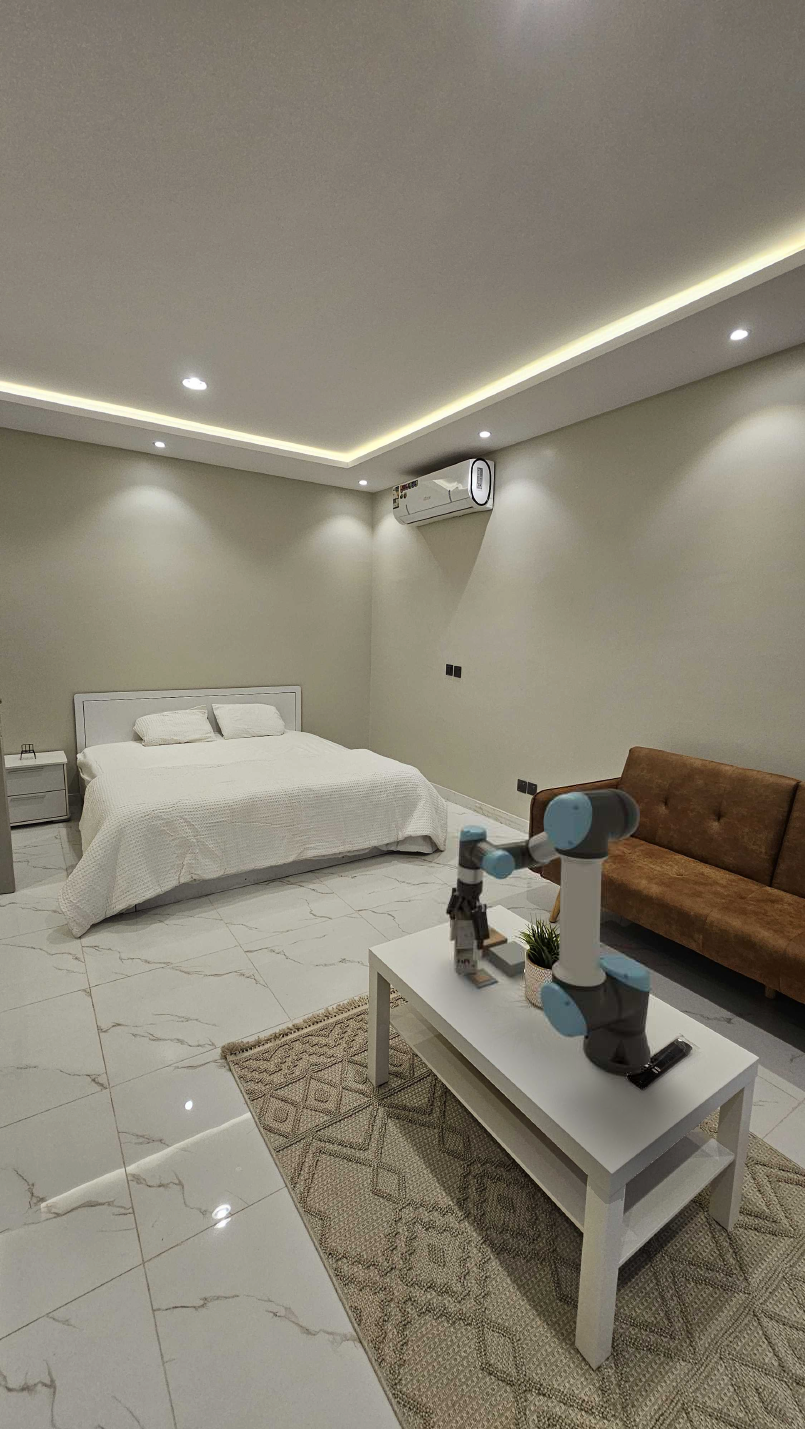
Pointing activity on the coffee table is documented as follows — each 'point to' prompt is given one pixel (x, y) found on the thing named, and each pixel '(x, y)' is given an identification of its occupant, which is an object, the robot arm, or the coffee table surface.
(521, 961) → the grey square block
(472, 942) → the coffee box
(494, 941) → the walnut block
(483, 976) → the square coaster
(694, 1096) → the coffee table surface
